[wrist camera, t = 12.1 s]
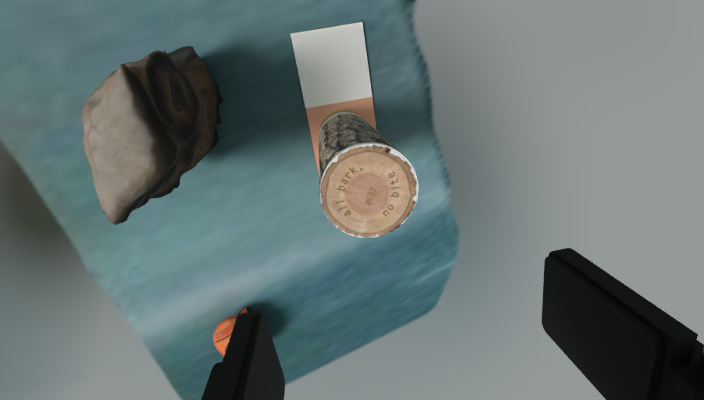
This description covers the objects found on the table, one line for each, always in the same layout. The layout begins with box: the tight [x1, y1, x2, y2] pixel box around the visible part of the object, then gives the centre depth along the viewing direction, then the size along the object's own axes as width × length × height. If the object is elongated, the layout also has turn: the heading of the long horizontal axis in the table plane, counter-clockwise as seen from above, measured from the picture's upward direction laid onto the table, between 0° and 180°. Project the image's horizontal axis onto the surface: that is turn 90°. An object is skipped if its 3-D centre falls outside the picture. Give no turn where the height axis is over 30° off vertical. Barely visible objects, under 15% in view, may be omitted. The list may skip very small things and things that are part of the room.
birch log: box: [318, 110, 418, 238], centre depth 35 cm, size 7×7×25 cm
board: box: [291, 22, 377, 172], centre depth 43 cm, size 28×9×1 cm, turn 9°
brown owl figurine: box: [81, 46, 223, 225], centre depth 35 cm, size 13×13×20 cm
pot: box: [213, 308, 248, 355], centre depth 53 cm, size 8×8×7 cm
